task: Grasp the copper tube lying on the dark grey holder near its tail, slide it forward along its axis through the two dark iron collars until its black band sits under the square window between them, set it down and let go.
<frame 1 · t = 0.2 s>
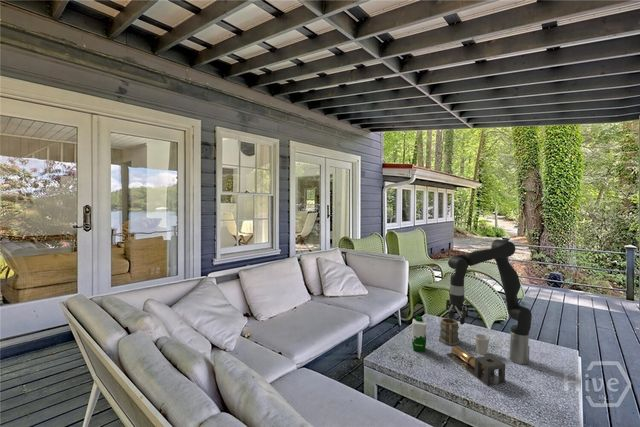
hand: (456, 321, 180), 28 cm above the table, fingers open, 8 cm apart
tube: (467, 362, 190), point 1 cm above the table, touching dark grey holder
milk carton: (418, 349, 207), on the table
dark grey holder: (489, 379, 173), on the table
dixie cup: (481, 352, 203), on the table
tankard: (448, 343, 215), on the table
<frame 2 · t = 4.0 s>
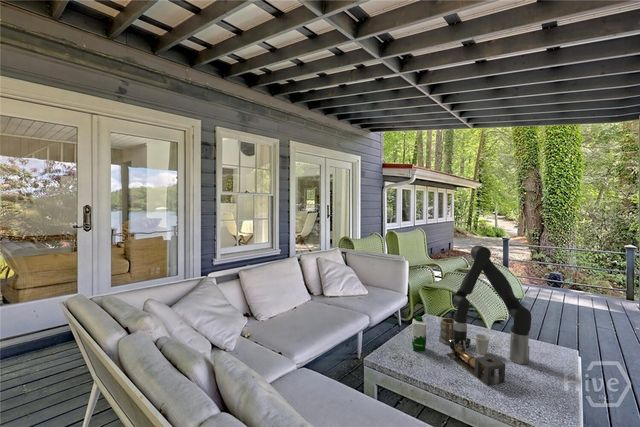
hand: (459, 355, 196), 1 cm above the table, fingers closed on tube, 5 cm apart
tube: (467, 362, 190), point 1 cm above the table, touching dark grey holder, gripper
everything else where it was.
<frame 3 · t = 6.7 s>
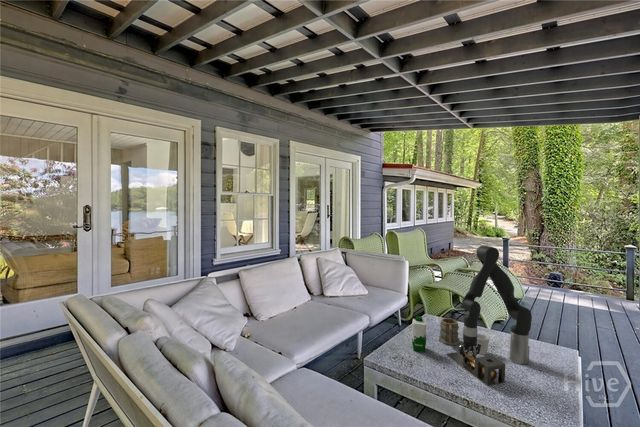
hand: (469, 361, 188), 2 cm above the table, fingers closed on tube, 5 cm apart
tube: (477, 369, 181), point 1 cm above the table, touching gripper
everything else where it was.
when the fingers open (1 cm above the table, at t = 9.5 s): tube stays where it is, resting on dark grey holder.
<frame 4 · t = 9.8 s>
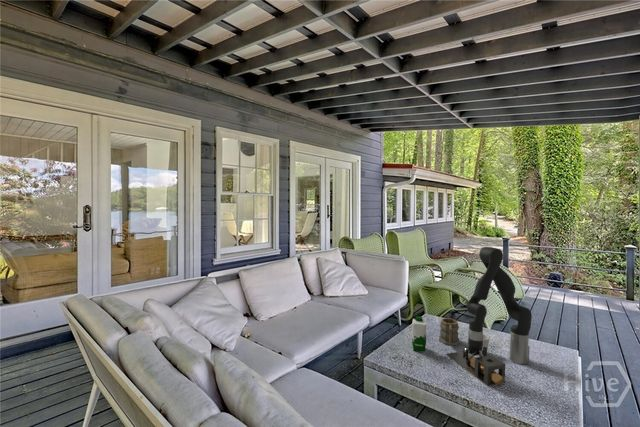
hand: (474, 365, 184), 2 cm above the table, fingers open, 8 cm apart
tube: (483, 374, 177), point 1 cm above the table, touching dark grey holder
everything else where it was.
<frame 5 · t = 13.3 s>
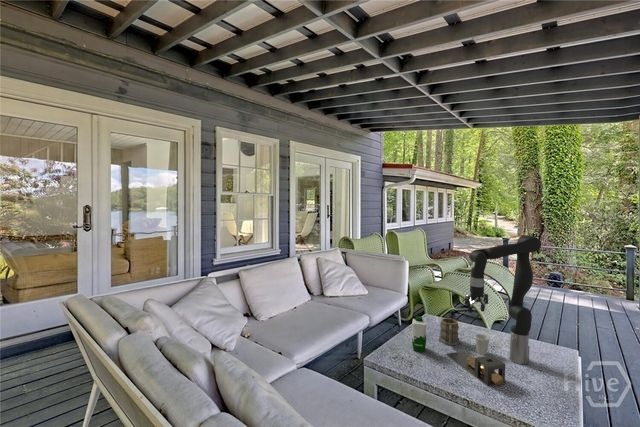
hand: (476, 311, 190), 30 cm above the table, fingers open, 8 cm apart
nothing on the table moved.
at the end: tube 0.1 cm from the target spot on the dark grey holder, point 0.6 cm above the dark grey holder's base; the gripper is holding nothing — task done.
